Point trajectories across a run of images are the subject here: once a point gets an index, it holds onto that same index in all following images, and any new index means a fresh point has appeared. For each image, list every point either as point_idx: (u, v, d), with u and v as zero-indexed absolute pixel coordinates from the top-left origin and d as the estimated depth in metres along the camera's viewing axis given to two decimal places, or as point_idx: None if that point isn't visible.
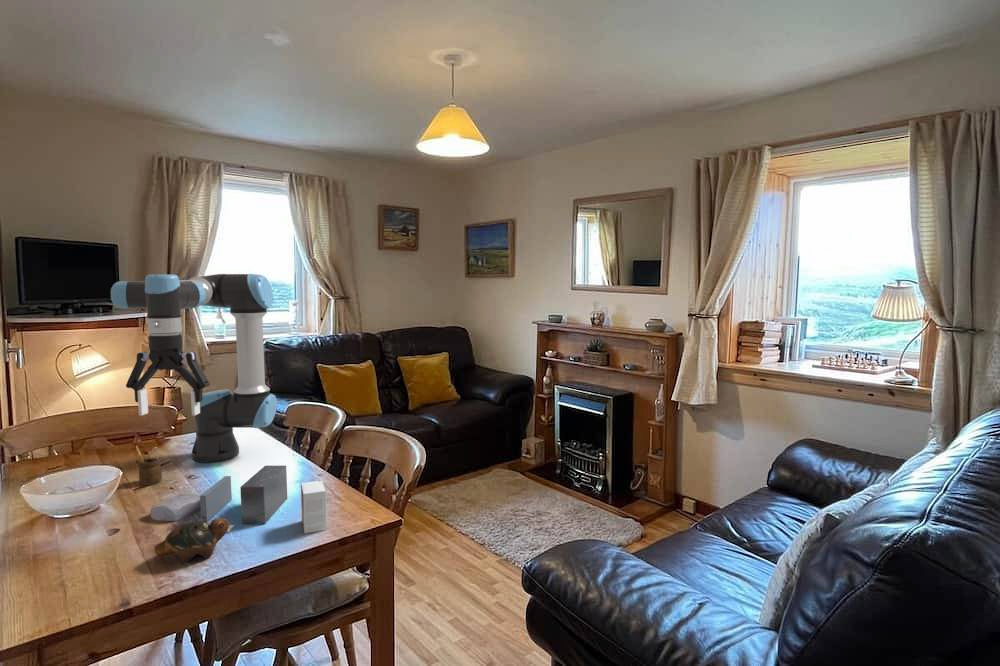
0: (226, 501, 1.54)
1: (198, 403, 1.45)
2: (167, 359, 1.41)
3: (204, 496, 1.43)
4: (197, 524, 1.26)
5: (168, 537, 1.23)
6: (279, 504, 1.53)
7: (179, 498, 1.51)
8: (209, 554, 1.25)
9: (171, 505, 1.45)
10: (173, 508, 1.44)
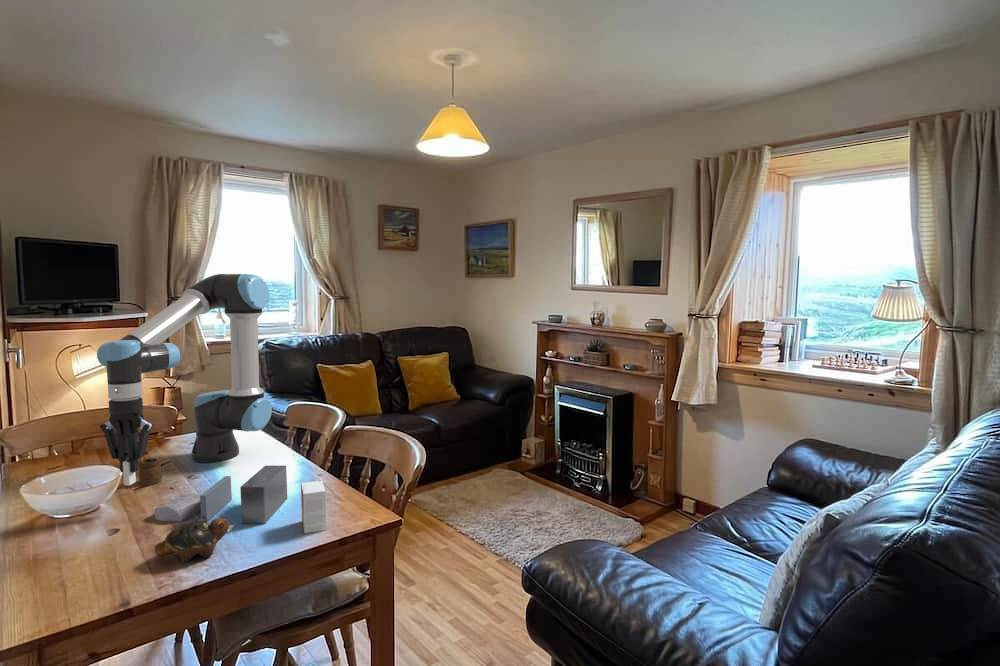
0: (226, 501, 1.54)
1: (134, 473, 1.49)
2: (127, 423, 1.45)
3: (204, 496, 1.43)
4: (197, 524, 1.26)
5: (168, 537, 1.23)
6: (279, 504, 1.53)
7: (183, 498, 1.51)
8: (209, 554, 1.25)
9: (175, 505, 1.44)
10: (177, 509, 1.44)
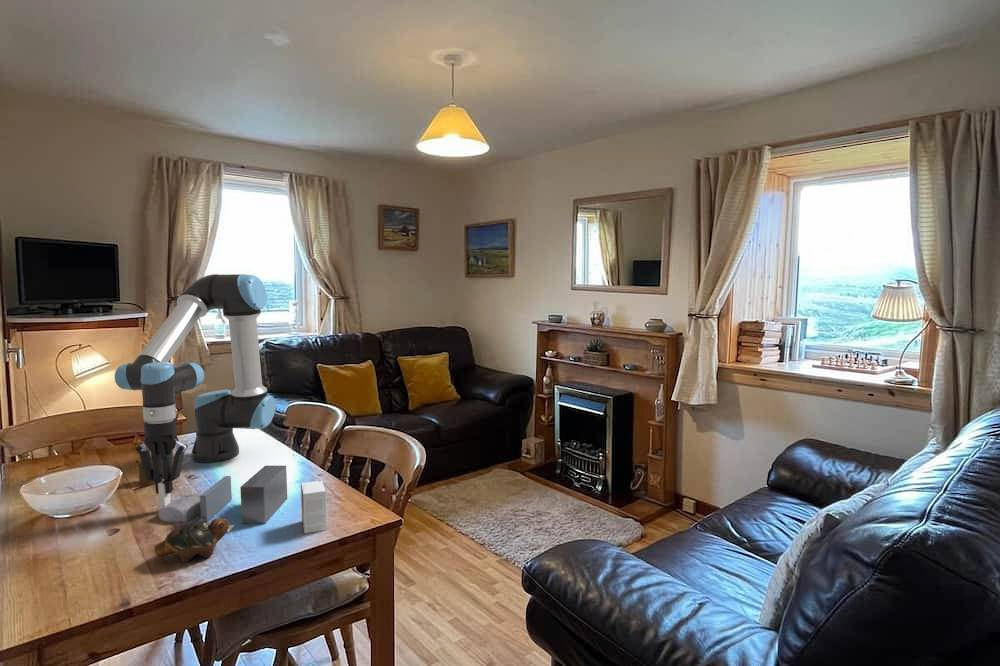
0: (226, 501, 1.54)
1: (168, 493, 1.50)
2: (162, 445, 1.46)
3: (204, 496, 1.43)
4: (197, 524, 1.26)
5: (168, 537, 1.23)
6: (279, 504, 1.53)
7: (187, 499, 1.51)
8: (209, 554, 1.25)
9: (180, 506, 1.44)
10: (182, 509, 1.43)
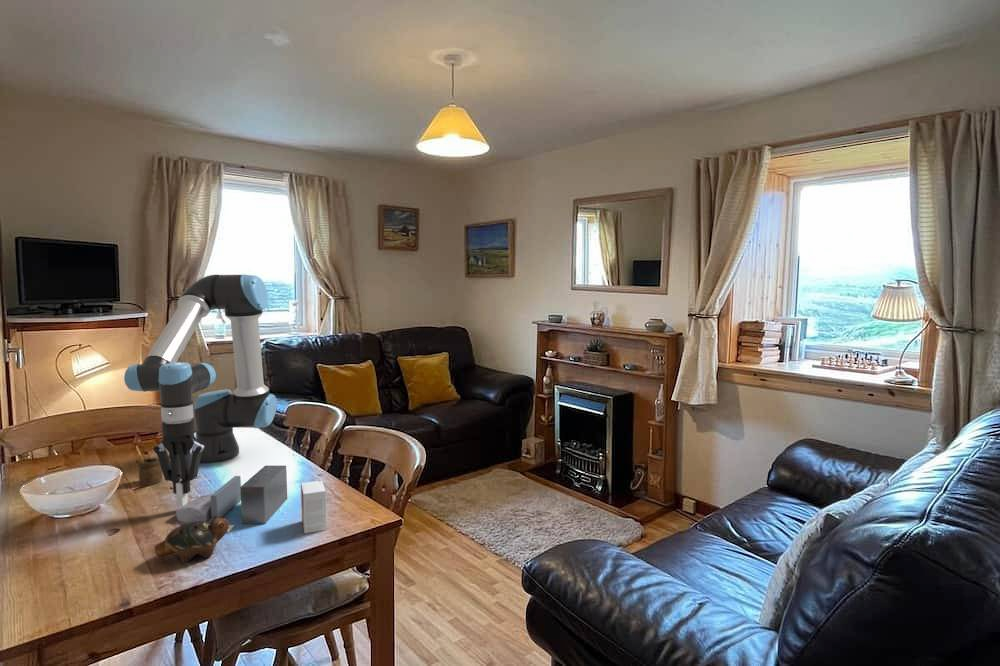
0: (236, 501, 1.54)
1: (186, 493, 1.50)
2: (180, 445, 1.46)
3: (215, 496, 1.43)
4: (197, 524, 1.26)
5: (168, 537, 1.23)
6: (279, 504, 1.53)
7: (203, 499, 1.50)
8: (209, 554, 1.25)
9: (199, 506, 1.44)
10: (202, 509, 1.43)
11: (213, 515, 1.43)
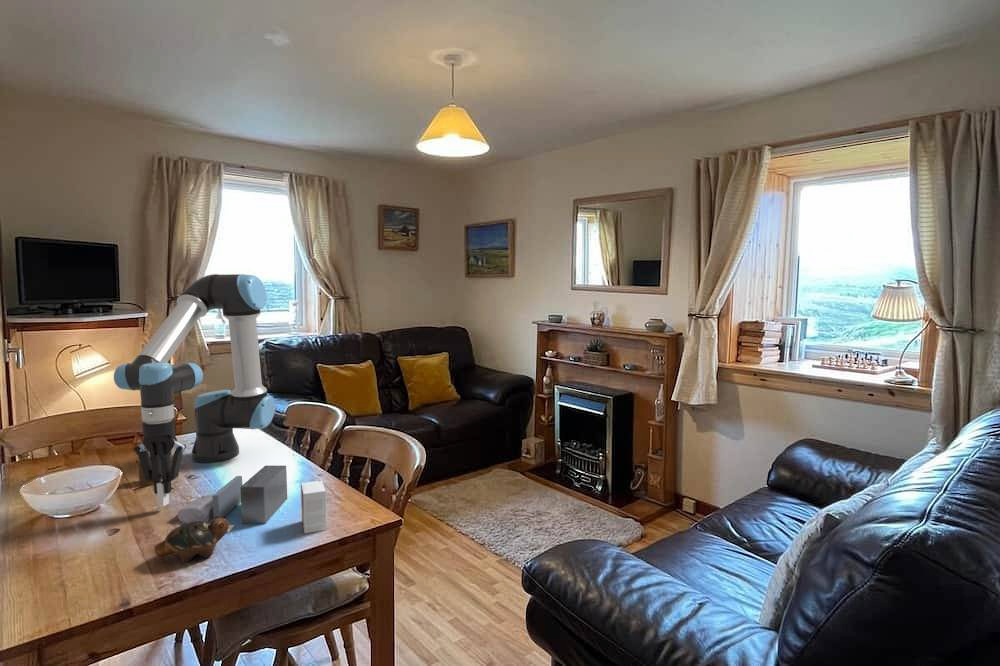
0: (237, 501, 1.54)
1: (167, 494, 1.50)
2: (160, 445, 1.46)
3: (216, 496, 1.43)
4: (197, 524, 1.26)
5: (168, 537, 1.23)
6: (279, 504, 1.53)
7: (204, 500, 1.50)
8: (209, 554, 1.25)
9: (201, 506, 1.44)
10: (204, 510, 1.43)
11: (215, 515, 1.43)
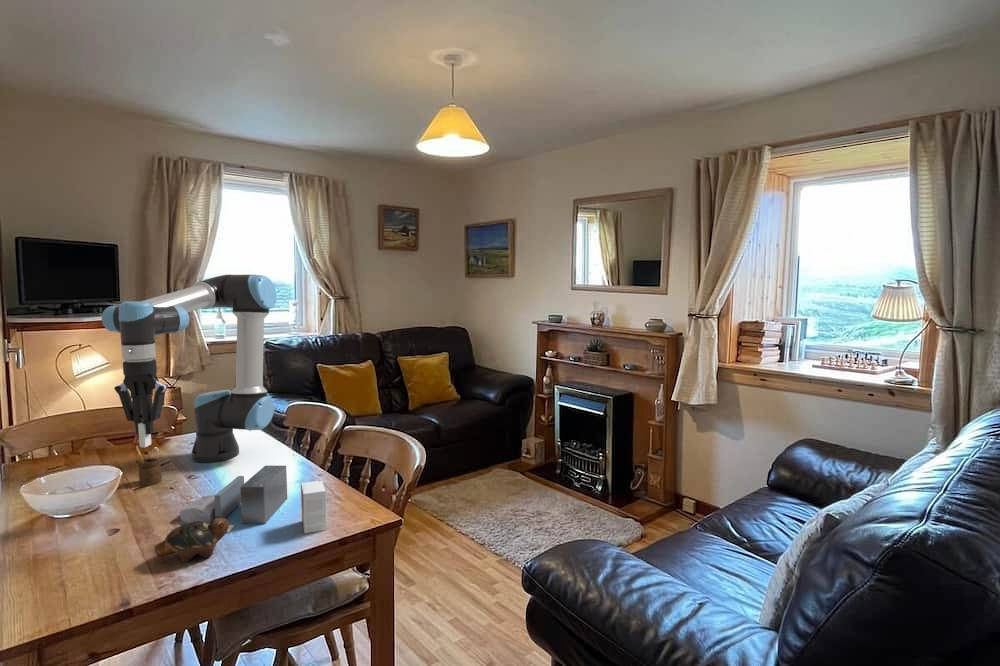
0: (239, 501, 1.54)
1: (149, 435, 1.49)
2: (141, 384, 1.44)
3: (219, 496, 1.43)
4: (197, 524, 1.26)
5: (168, 537, 1.23)
6: (279, 504, 1.53)
7: (206, 500, 1.50)
8: (209, 554, 1.25)
9: (203, 506, 1.44)
10: (206, 510, 1.43)
11: (217, 515, 1.43)
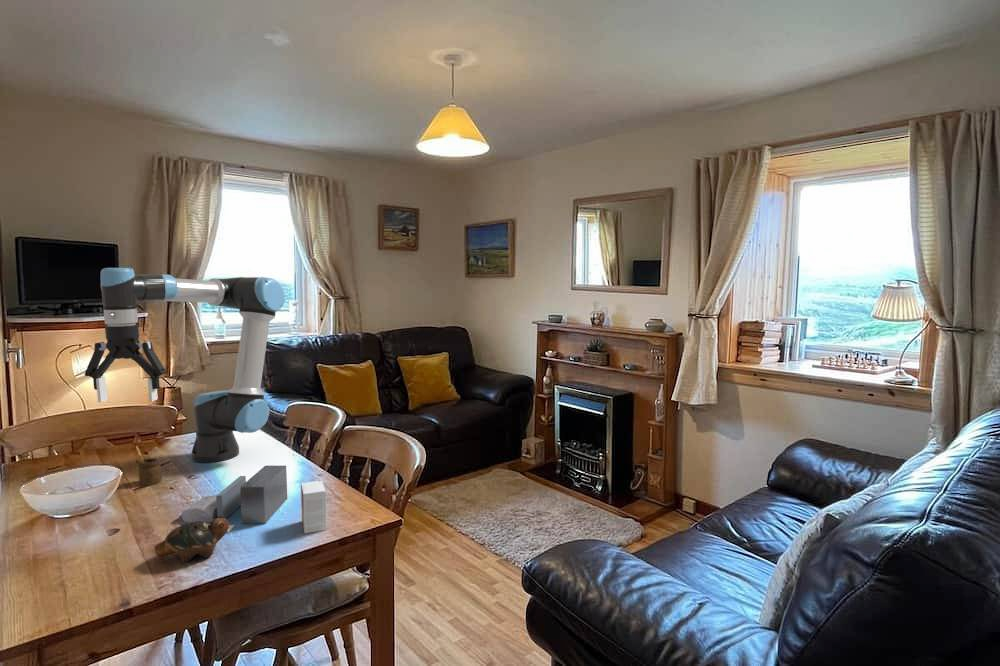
0: None
1: (155, 390, 1.52)
2: (124, 348, 1.48)
3: (220, 496, 1.43)
4: (197, 524, 1.26)
5: (168, 537, 1.23)
6: (279, 504, 1.53)
7: (208, 500, 1.50)
8: (209, 554, 1.25)
9: (205, 507, 1.44)
10: (208, 510, 1.43)
11: (219, 515, 1.43)
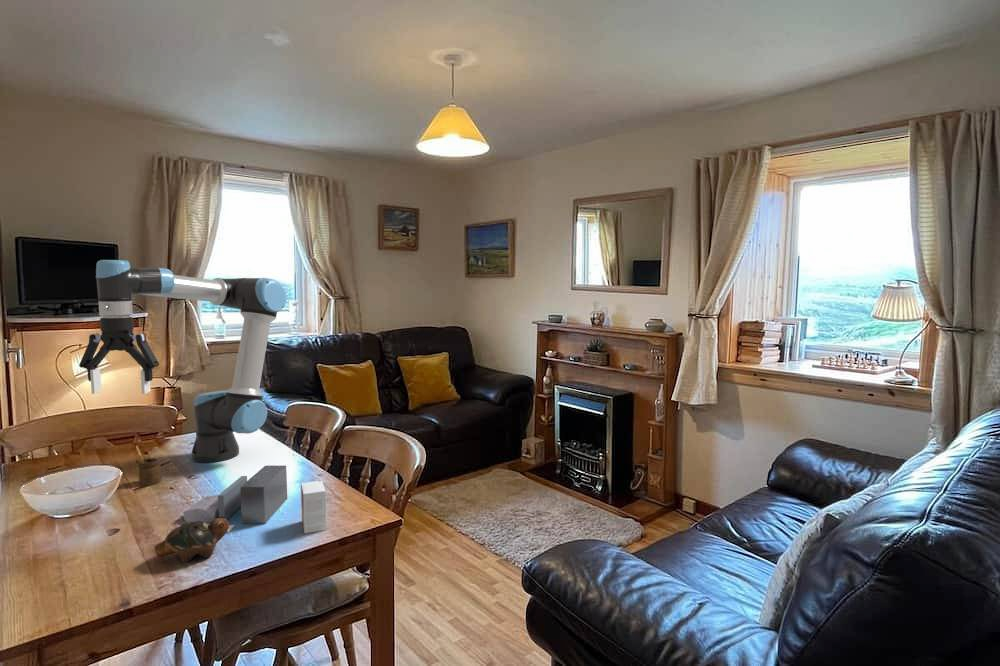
0: None
1: (148, 382, 1.53)
2: (118, 340, 1.49)
3: (222, 496, 1.43)
4: (197, 524, 1.26)
5: (168, 537, 1.23)
6: (279, 504, 1.53)
7: (209, 500, 1.50)
8: (209, 554, 1.25)
9: (207, 507, 1.44)
10: (210, 510, 1.43)
11: (220, 515, 1.43)
